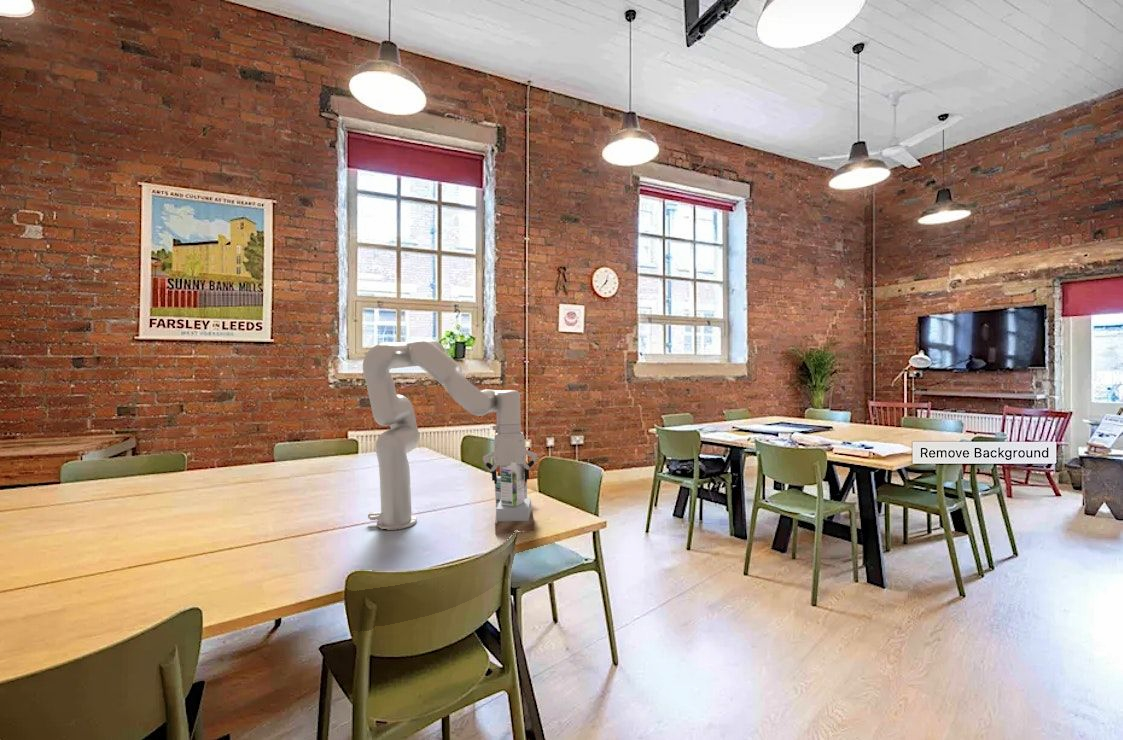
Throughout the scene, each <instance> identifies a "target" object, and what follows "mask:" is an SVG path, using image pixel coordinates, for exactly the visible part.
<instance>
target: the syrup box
mask: <svg viewBox="0 0 1123 740" xmlns="http://www.w3.org/2000/svg"><path fill="white" fill-rule="evenodd" d="M524 468H525V467H524V466H523V465H516V461H514V462H511V465H509V466H499V469H500V470H499V471H500V473H499V474H500V475H499V476H500V477H501V505H507V506H513V507H516V506H518V505H520V504H522V503H523V502H524Z"/></svg>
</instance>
